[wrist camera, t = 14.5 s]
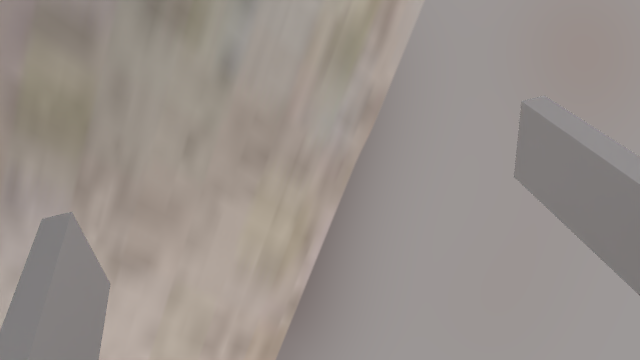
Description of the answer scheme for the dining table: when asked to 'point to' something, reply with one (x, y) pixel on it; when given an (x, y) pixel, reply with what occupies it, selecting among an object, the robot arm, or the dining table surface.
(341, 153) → the dining table surface
